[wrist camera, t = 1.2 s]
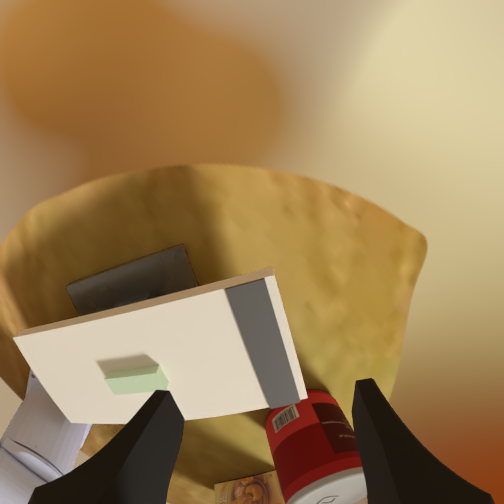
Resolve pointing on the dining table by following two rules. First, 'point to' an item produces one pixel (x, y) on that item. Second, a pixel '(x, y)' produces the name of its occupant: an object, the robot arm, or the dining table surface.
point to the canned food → (315, 452)
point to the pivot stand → (134, 281)
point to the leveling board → (172, 354)
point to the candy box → (250, 490)
